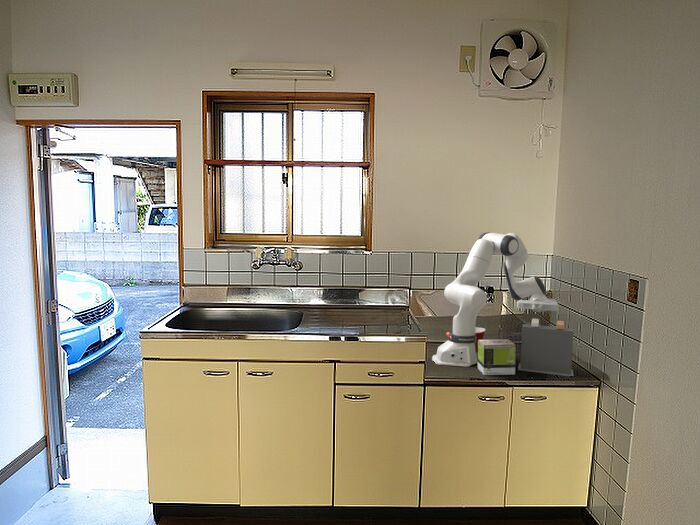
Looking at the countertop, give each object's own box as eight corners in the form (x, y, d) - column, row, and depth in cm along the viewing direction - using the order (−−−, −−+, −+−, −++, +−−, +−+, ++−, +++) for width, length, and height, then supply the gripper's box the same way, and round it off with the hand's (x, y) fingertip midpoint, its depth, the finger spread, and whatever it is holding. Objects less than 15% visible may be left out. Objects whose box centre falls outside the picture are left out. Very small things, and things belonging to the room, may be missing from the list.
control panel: (518, 369, 227) (519, 326, 225) (519, 365, 235) (520, 323, 232) (573, 376, 218) (575, 332, 216) (572, 371, 225) (575, 328, 223)
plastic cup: (462, 347, 265) (463, 326, 263) (482, 348, 264) (483, 326, 262) (465, 353, 254) (466, 331, 253) (486, 353, 253) (487, 331, 252)
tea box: (507, 368, 230) (508, 338, 228) (515, 375, 220) (516, 344, 218) (476, 368, 230) (477, 338, 228) (483, 375, 220) (484, 344, 218)
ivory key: (529, 337, 226) (530, 322, 225) (530, 332, 235) (531, 317, 234) (538, 338, 224) (539, 322, 223) (539, 333, 234) (540, 318, 233)
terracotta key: (554, 339, 221) (555, 324, 221) (555, 334, 231) (555, 319, 230) (564, 340, 220) (565, 325, 219) (564, 335, 229) (564, 320, 228)
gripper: (517, 296, 260) (515, 300, 247) (558, 299, 252) (558, 303, 239) (517, 307, 261) (515, 312, 248) (557, 310, 253) (557, 316, 240)
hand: (536, 308), depth 244 cm, fingers closed
